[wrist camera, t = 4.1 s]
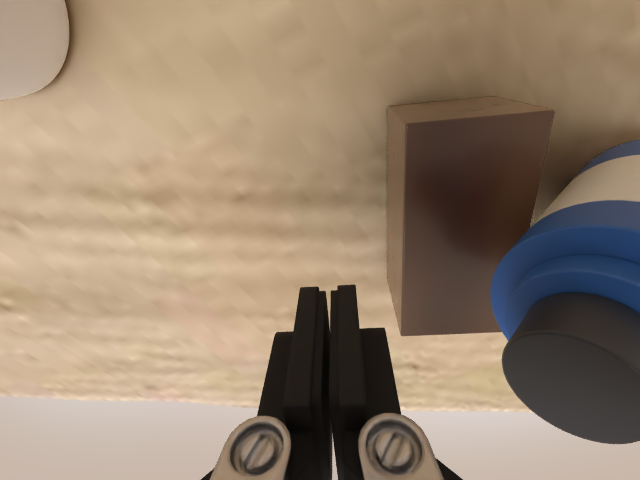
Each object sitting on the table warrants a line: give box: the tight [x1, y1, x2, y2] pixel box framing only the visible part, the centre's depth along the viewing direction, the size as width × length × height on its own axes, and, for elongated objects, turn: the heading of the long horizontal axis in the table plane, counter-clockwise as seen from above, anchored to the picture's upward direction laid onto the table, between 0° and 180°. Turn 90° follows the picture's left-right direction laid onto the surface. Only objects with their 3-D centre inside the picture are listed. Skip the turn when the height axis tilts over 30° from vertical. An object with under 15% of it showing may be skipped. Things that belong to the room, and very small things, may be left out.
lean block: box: [387, 96, 554, 336], centre depth 16 cm, size 5×10×5 cm, turn 6°
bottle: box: [490, 140, 640, 444], centre depth 12 cm, size 12×6×13 cm, turn 96°
